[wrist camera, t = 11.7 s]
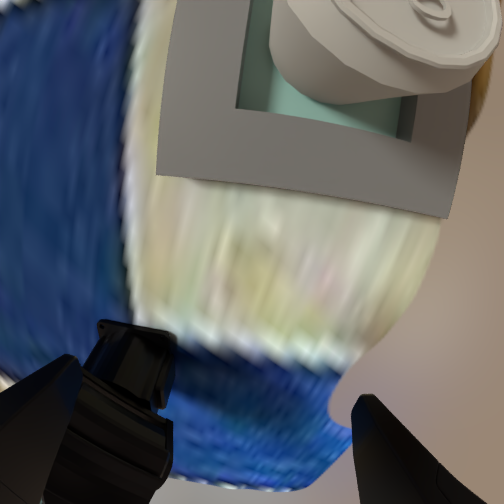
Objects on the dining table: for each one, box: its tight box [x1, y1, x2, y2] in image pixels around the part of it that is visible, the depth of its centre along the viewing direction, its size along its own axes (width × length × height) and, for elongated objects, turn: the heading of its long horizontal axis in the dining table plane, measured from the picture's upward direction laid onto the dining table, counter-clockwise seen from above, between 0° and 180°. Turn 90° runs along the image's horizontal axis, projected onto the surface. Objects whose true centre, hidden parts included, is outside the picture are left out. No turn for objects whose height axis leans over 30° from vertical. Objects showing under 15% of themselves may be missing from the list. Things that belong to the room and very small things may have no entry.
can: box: [269, 0, 502, 105], centre depth 9 cm, size 8×8×12 cm
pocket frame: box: [156, 0, 472, 219], centre depth 14 cm, size 18×18×2 cm
